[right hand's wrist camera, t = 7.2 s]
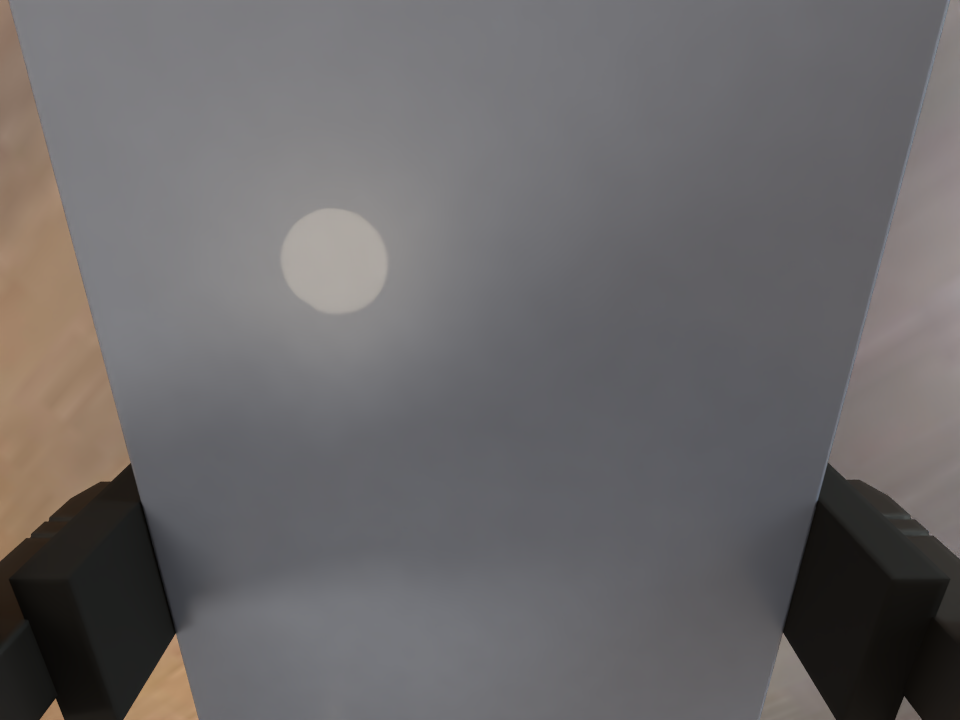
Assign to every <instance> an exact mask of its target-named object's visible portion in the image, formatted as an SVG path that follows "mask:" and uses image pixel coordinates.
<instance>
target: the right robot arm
mask: <svg viewBox="0 0 960 720" xmlns="http://www.w3.org/2000/svg"><path fill="white" fill-rule="evenodd" d="M783 633H784V635H785V636H786V638H787V640H788V641H789V643H790V645H791V646H792V648H793V649H794V651H795V653H796V654H797V656H798V658H799V659H800V661H801V663H802V664H803V666H804V668H805V669H806V671H807V673H808V674H809V676H810V677H811V679H812V681H813V682H814V684H815V686H816V687H817V689H818V691H819V692H820V694H821V696H822V697H823V699H824V701H825V702H826V704H827V705H828V707H829V709H830V710H831V712H832V714H833V715H834V717H835V719H836V720H895V718H896V715H897V713H898V710H899V708H900V705H901V703H902V700H903V698H904V696H905V697H906V699H907V700H908V701H909V703H910V704H911V705H912V707H913V708H914V709H915V711H916V712H917V713H918V715H919V716H920V717H921V719H922V720H960V559H959V558H958V557H957V556H956V555H954V554H953V553H952V552H951V551H950V550H949V549H948V548H947V547H945V546H944V545H943V544H942V543H941V542H940V541H939V540H937V539H936V538H935V537H934V536H929V532H928V531H927V530H926V529H925V528H924V527H923V526H922V525H921V524H919V523H918V522H917V521H916V520H915V519H911V517H910V515H909V514H908V513H907V512H906V511H905V510H904V509H903V508H901V507H900V506H899V505H898V504H897V503H896V502H895V501H894V500H892V499H891V498H890V497H889V496H887V495H886V494H884V493H882V492H880V491H878V490H877V489H875V488H873V487H871V486H869V485H868V484H866V483H864V482H862V481H860V480H846V479H845V478H844V477H843V476H841V475H840V474H839V473H838V472H837V471H836V470H835V469H834V468H833V467H832V466H831V465H830V464H829V463H827V467H826V471H825V475H824V479H823V482H822V486H821V490H820V494H819V497H818V501H817V505H816V509H815V513H814V516H813V520H812V524H811V528H810V532H809V535H808V539H807V543H806V547H805V550H804V554H803V558H802V562H801V566H800V569H799V573H798V577H797V581H796V584H795V588H794V592H793V596H792V600H791V603H790V607H789V611H788V615H787V618H786V622H785V626H784V630H783ZM175 634H176V631H175V627H174V624H173V620H172V616H171V612H170V609H169V605H168V601H167V597H166V593H165V590H164V586H163V582H162V578H161V575H160V571H159V567H158V563H157V559H156V556H155V552H154V548H153V544H152V541H151V537H150V533H149V529H148V525H147V522H146V518H145V514H144V510H143V507H142V503H141V499H140V495H139V492H138V488H137V484H136V480H135V476H134V473H133V469H132V465H131V463H130V464H129V465H128V466H127V467H126V468H125V469H124V470H123V471H122V472H121V473H120V474H119V475H118V476H117V477H116V478H115V479H114V480H113V481H111V482H99V483H97V484H96V485H94V486H92V487H90V488H89V489H87V490H85V491H83V492H81V493H80V494H78V495H76V496H74V497H72V498H71V499H70V500H69V501H67V502H66V503H65V504H64V505H63V506H62V507H61V508H60V509H58V510H57V511H56V512H55V513H54V514H53V515H52V516H51V517H50V518H49V521H48V522H44V523H43V524H42V525H41V526H39V527H38V528H37V529H36V530H35V531H34V532H33V533H32V534H31V538H26V539H25V540H24V541H23V542H22V543H20V544H19V545H18V546H17V547H16V548H15V549H14V550H13V551H11V552H10V553H9V554H8V555H7V556H6V557H5V558H4V559H3V560H1V561H0V720H40V718H41V717H42V716H43V714H44V713H45V712H46V710H47V709H48V708H49V706H50V705H51V704H52V702H53V701H54V700H55V698H56V700H57V702H58V705H59V707H60V710H61V712H62V715H63V717H64V720H123V719H124V718H125V716H126V714H127V713H128V711H129V709H130V708H131V706H132V704H133V703H134V701H135V699H136V698H137V696H138V695H139V693H140V691H141V690H142V688H143V686H144V685H145V683H146V681H147V680H148V678H149V676H150V675H151V673H152V671H153V670H154V668H155V667H156V665H157V663H158V662H159V660H160V658H161V657H162V655H163V653H164V652H165V650H166V648H167V647H168V645H169V643H170V642H171V640H172V639H173V637H174V635H175Z"/></svg>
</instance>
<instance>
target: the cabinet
mask: <svg viewBox="0 0 960 720" xmlns="http://www.w3.org/2000/svg"><path fill="white" fill-rule="evenodd" d="M8 1H9V4H10V8H11V12H12V16H13V19H14V23H15V27H16V31H17V35H18V38H19V42H20V46H21V50H22V53H23V57H24V61H25V65H26V69H27V72H28V76H29V80H30V84H31V87H32V91H33V95H34V99H35V103H36V106H37V110H38V114H39V118H40V121H41V125H42V129H43V133H44V137H45V140H46V144H47V148H48V152H49V155H50V159H51V163H52V167H53V171H54V174H55V178H56V182H57V186H58V189H59V193H60V197H61V201H62V204H63V208H64V212H65V216H66V220H67V223H68V227H69V231H70V235H71V238H72V242H73V246H74V250H75V254H76V257H77V261H78V265H79V269H80V272H81V276H82V280H83V284H84V288H85V291H86V295H87V299H88V303H89V306H90V310H91V314H92V318H93V322H94V325H95V329H96V333H97V337H98V340H99V344H100V348H101V352H102V356H103V359H104V363H105V367H106V371H107V374H108V378H109V382H110V386H111V390H112V393H113V397H114V401H115V405H116V408H117V412H118V416H119V420H120V424H121V427H122V431H123V435H124V439H125V442H126V446H127V450H128V454H129V458H130V461H131V465H132V469H133V473H134V476H135V480H136V484H137V488H138V492H139V495H140V499H141V503H142V507H143V510H144V514H145V518H146V522H147V525H148V529H149V533H150V537H151V541H152V544H153V548H154V552H155V556H156V559H157V563H158V567H159V571H160V575H161V578H162V582H163V586H164V590H165V593H166V597H167V601H168V605H169V609H170V612H171V616H172V620H173V624H174V627H175V631H176V635H177V639H178V643H179V646H180V650H181V654H182V658H183V661H184V665H185V669H186V673H187V677H188V680H189V684H190V688H191V692H192V695H193V699H194V703H195V707H196V711H197V714H198V718H199V720H760V717H761V713H762V709H763V705H764V702H765V698H766V694H767V690H768V686H769V683H770V679H771V675H772V671H773V668H774V664H775V660H776V656H777V652H778V649H779V645H780V641H781V637H782V634H783V630H784V626H785V622H786V618H787V615H788V611H789V607H790V603H791V600H792V596H793V592H794V588H795V584H796V581H797V577H798V573H799V569H800V566H801V562H802V558H803V554H804V550H805V547H806V543H807V539H808V535H809V532H810V528H811V524H812V520H813V516H814V513H815V509H816V505H817V501H818V497H819V494H820V490H821V486H822V482H823V479H824V475H825V471H826V467H827V463H828V460H829V456H830V452H831V448H832V445H833V441H834V437H835V433H836V429H837V426H838V422H839V418H840V414H841V411H842V407H843V403H844V399H845V395H846V392H847V388H848V384H849V380H850V377H851V373H852V369H853V365H854V361H855V358H856V354H857V350H858V346H859V343H860V339H861V335H862V331H863V327H864V324H865V320H866V316H867V312H868V309H869V305H870V301H871V297H872V293H873V290H874V286H875V282H876V278H877V275H878V271H879V267H880V263H881V259H882V256H883V252H884V248H885V244H886V241H887V237H888V233H889V229H890V225H891V222H892V218H893V214H894V210H895V207H896V203H897V199H898V195H899V191H900V188H901V184H902V180H903V176H904V173H905V169H906V165H907V161H908V157H909V154H910V150H911V146H912V142H913V138H914V135H915V131H916V127H917V123H918V120H919V116H920V112H921V108H922V104H923V101H924V97H925V93H926V89H927V86H928V82H929V78H930V74H931V70H932V67H933V63H934V59H935V55H936V52H937V48H938V44H939V40H940V36H941V33H942V29H943V25H944V21H945V18H946V14H947V10H948V6H949V2H950V0H8Z"/></svg>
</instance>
